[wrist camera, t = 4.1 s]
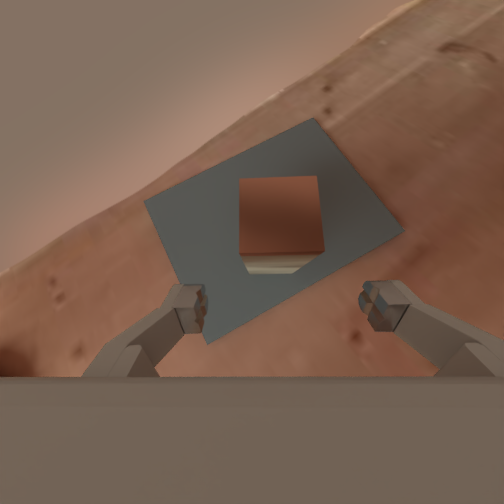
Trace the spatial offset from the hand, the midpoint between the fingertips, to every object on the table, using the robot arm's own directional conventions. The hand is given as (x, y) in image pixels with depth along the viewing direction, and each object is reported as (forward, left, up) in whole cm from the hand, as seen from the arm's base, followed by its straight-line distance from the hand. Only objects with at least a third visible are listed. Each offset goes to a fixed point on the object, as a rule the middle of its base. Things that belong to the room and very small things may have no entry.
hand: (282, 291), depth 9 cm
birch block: (-2, -4, -10) cm, 11 cm away
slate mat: (-4, -8, -10) cm, 14 cm away
